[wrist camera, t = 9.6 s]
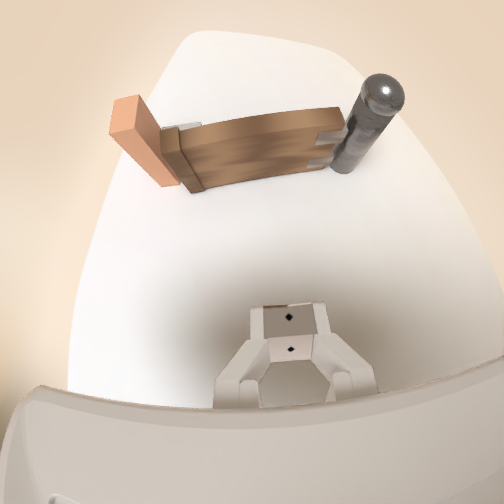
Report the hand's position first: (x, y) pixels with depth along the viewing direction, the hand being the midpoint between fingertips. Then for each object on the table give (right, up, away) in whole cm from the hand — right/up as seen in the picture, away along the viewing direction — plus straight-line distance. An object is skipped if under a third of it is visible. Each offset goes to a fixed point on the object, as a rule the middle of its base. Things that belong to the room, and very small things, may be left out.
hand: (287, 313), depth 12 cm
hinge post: (+8, +12, +17) cm, 22 cm away
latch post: (-8, +11, +17) cm, 22 cm away
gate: (-1, +10, +16) cm, 20 cm away
